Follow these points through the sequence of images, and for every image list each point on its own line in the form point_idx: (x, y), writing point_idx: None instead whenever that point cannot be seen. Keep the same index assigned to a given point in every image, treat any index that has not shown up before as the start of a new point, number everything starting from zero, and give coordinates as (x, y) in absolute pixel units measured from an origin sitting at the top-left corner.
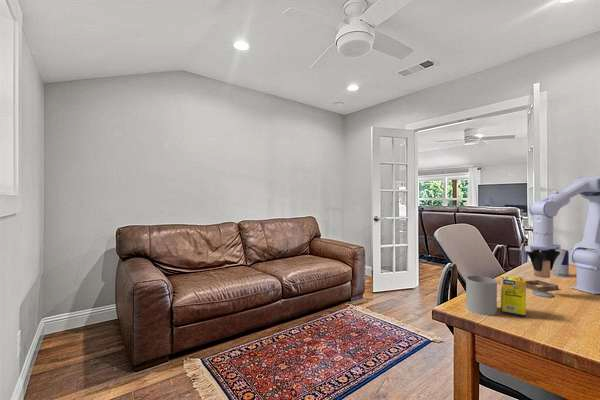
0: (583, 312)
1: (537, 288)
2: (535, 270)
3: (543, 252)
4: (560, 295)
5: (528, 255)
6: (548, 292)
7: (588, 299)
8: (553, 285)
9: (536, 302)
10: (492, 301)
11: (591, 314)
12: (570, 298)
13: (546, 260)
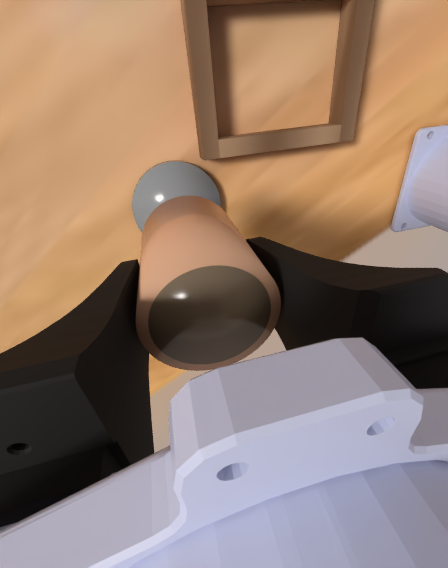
0: (158, 368)
1: (202, 153)
2: (140, 254)
3: (336, 320)
4: (251, 224)
5: (14, 352)
6: (220, 200)
7: None
8: (330, 134)
9: (56, 297)
10: None
11: (167, 377)
12: None
13: (232, 343)
